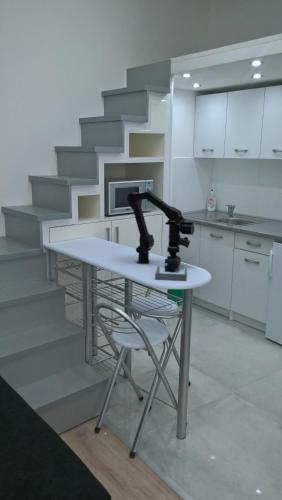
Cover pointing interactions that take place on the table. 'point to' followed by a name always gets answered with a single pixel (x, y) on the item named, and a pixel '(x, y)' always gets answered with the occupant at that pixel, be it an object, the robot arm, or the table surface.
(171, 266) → the end cap
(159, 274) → the bay
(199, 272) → the table surface
